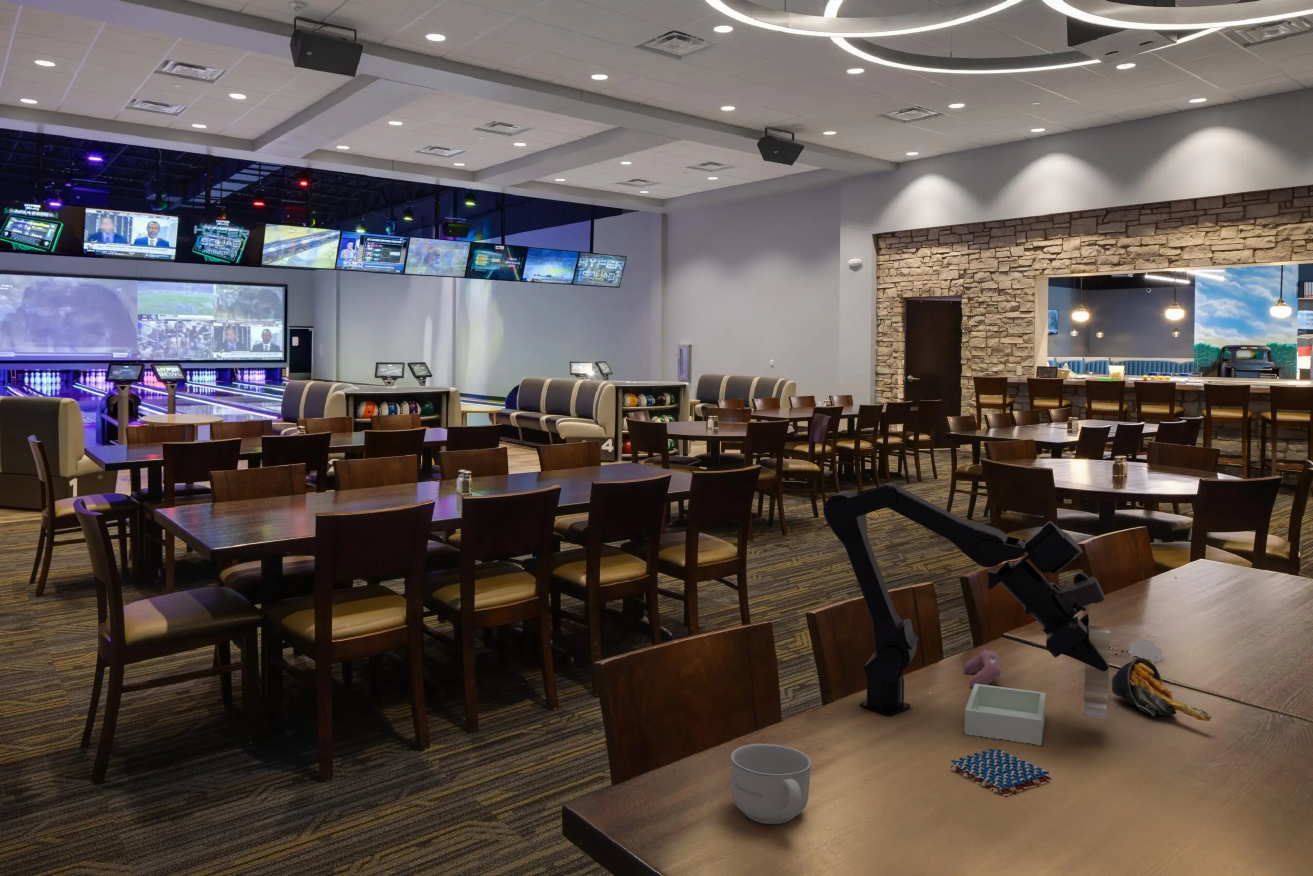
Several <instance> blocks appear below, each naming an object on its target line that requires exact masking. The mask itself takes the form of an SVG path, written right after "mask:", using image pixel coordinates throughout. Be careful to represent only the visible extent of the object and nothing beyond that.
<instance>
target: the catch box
mask: <svg viewBox="0 0 1313 876" xmlns="http://www.w3.org/2000/svg"><path fill="white" fill-rule="evenodd" d="M1046 700H1047V693H1046V692H1043V691H1034V690H1029V689H1028V690H1026V689H1019V688H1018V689H1017V688H1011V687H1005V686H1004V687H1003V686H995V685H990V684H989V685H981V684H974V687H973V688H972V691H971V693H970V694H969V698H968V701H967V704H966V706H965V709H964V735H968V736H973V735H974V736H975V737H980V736H982V737H981V738H986V737H988V738H987V739H993V738H995V739H994V740H999V739H1003V740H1002V741H1006V740H1010V741H1009V742H1013V741H1019V742H1026V743H1033V744H1040V745H1043V744H1042V743H1043V738H1044V731H1043V730H1044V729H1045V722H1046V709H1047V708H1046V703H1047V701H1046ZM974 736H973V737H974ZM1019 742H1018V743H1019ZM1026 743H1025V744H1026Z"/></svg>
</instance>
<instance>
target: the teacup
mask: <svg viewBox="0 0 1313 876" xmlns="http://www.w3.org/2000/svg"><path fill="white" fill-rule="evenodd" d="M730 761H731V765H730V790H731V791H730V792H731V796H732V800H733V803H734V805H735V806H736V807H737V808H738V809H739V810H740V811H741V812H742V813H743V814H744V815H745V816H746V817H748V819H750V820H753V821H754V822H757V823H761V824H767V825H780V824H781V825H782V824H785V823H788V822H790V821H792V820H793V819H794V818H795V817H797V816H799V814H801V813H802V812H803V811H804V809H805V808H806V807H807V804H808V800H809V795H810V794H809V791H810V778H811V767H812V760H811V758H810V756H809V755H807V754H806V753H805V752H802V751H801V750H798V749H796V748H793V747H791V746H790V747H789V746H786V745H781V744H774V743H771V744H770V743H751V744H746V745H741V746H739V747H738V748H736V749H734V750H733V751H732V752H731V754H730Z"/></svg>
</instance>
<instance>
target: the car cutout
mask: <svg viewBox="0 0 1313 876" xmlns="http://www.w3.org/2000/svg"><path fill="white" fill-rule="evenodd" d="M1128 653H1129V654H1130V659H1132V658H1133V657H1132V656H1137V657H1136V658H1138V657H1139V658H1145V659H1147V660H1148V659H1150V660H1149V661H1152V660H1154V661H1153V662H1154V664H1156V663H1160V661H1163V660H1164V657H1163V652H1162V649H1161V648H1160V647H1158V646H1156V645H1155V643H1154V641H1151V640H1148V639H1144V638H1139V639H1137V640H1136V642H1131V643H1130V644H1129V649H1128ZM1131 657H1132V658H1131ZM1157 661H1158V662H1157ZM1155 662H1156V663H1155Z"/></svg>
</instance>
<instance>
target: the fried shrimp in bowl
mask: <svg viewBox="0 0 1313 876" xmlns="http://www.w3.org/2000/svg"><path fill="white" fill-rule="evenodd" d="M1111 690H1112V693H1113V694H1114V695H1115V696H1117V697H1120V698H1122V699H1123V700H1124V701H1125V702H1127V703H1128V704H1131V705H1133V706H1136V707H1137V708H1138V709H1139V710H1141V711H1143V712H1144V713H1146V714H1147V715H1149V714H1150V716H1151V715H1152V716H1151V717H1155V716H1156V715H1160V716H1166V717H1168V716H1172V715H1177V711H1179V712H1182V713H1183V714H1185V715H1187V716H1190V717H1192V718H1194V719H1196V720H1198V721H1205V722H1210V720H1211V718H1212V715H1211V714H1209V713H1208V712H1206V711H1205V710H1203V709H1198V708H1197V707H1196V708H1195V707H1192V706H1191V705H1188V704H1186V703H1184V702H1183V703H1182V702H1179V701H1178V700H1174V699H1173V691H1171V690H1170V689H1168V688H1166V687H1165V686H1164V684H1163V681H1162V677H1161V675H1160V673H1159V670H1158V668H1157V667H1156V666H1155V664H1153V663H1152V662H1151V660H1148V659H1145V658H1138V657H1135V658H1134V659H1132V661H1131V662H1127V663H1126V664H1124V665H1122V667H1120V669H1118V670H1117V672H1116V674H1114V675H1113V676H1112V678H1111Z"/></svg>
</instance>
